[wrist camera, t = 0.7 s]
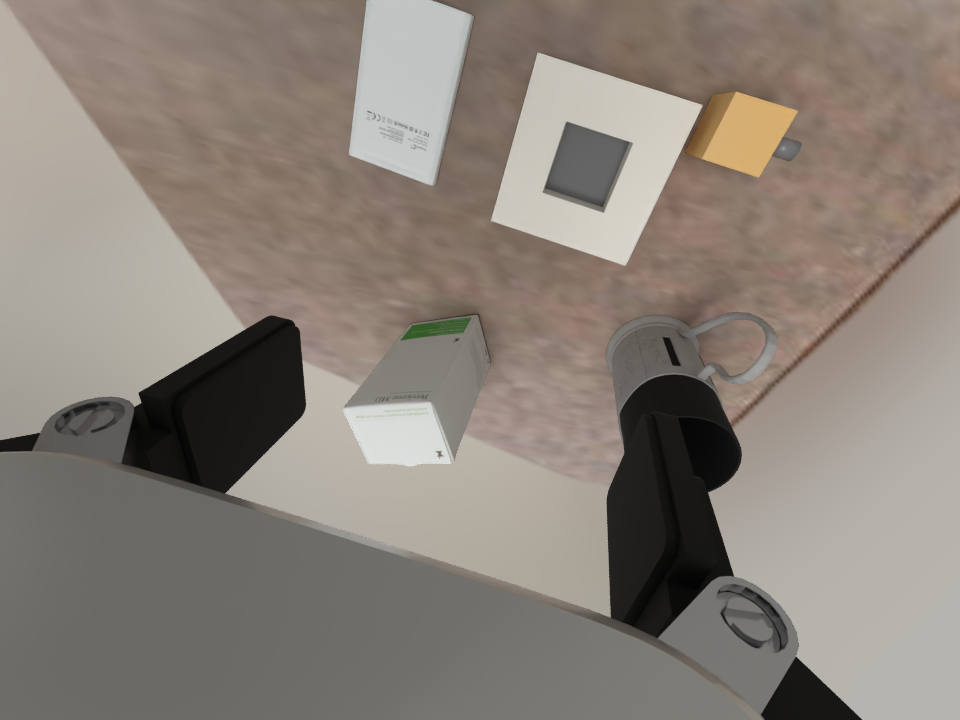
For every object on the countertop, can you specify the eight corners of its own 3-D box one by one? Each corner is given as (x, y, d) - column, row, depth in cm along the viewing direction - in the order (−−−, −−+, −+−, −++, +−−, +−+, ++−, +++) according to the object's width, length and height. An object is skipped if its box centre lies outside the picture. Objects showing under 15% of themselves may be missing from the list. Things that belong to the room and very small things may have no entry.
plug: (684, 152, 33) (701, 159, 29) (713, 94, 31) (736, 91, 26) (753, 174, 33) (781, 184, 28) (786, 117, 31) (822, 118, 26)
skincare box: (479, 312, 44) (435, 398, 31) (493, 367, 47) (458, 466, 34) (406, 322, 46) (337, 406, 33) (424, 374, 49) (366, 469, 36)
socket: (496, 213, 38) (490, 220, 36) (541, 57, 32) (537, 52, 29) (622, 255, 38) (625, 265, 35) (693, 105, 32) (702, 105, 29)
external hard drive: (476, 18, 32) (437, 184, 39) (376, -18, 32) (354, 153, 39) (471, 14, 31) (432, 186, 37) (367, -24, 31) (346, 154, 38)
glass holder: (589, 367, 44) (592, 469, 32) (677, 248, 37) (728, 319, 24) (661, 404, 45) (693, 519, 32) (763, 294, 37) (858, 387, 25)
